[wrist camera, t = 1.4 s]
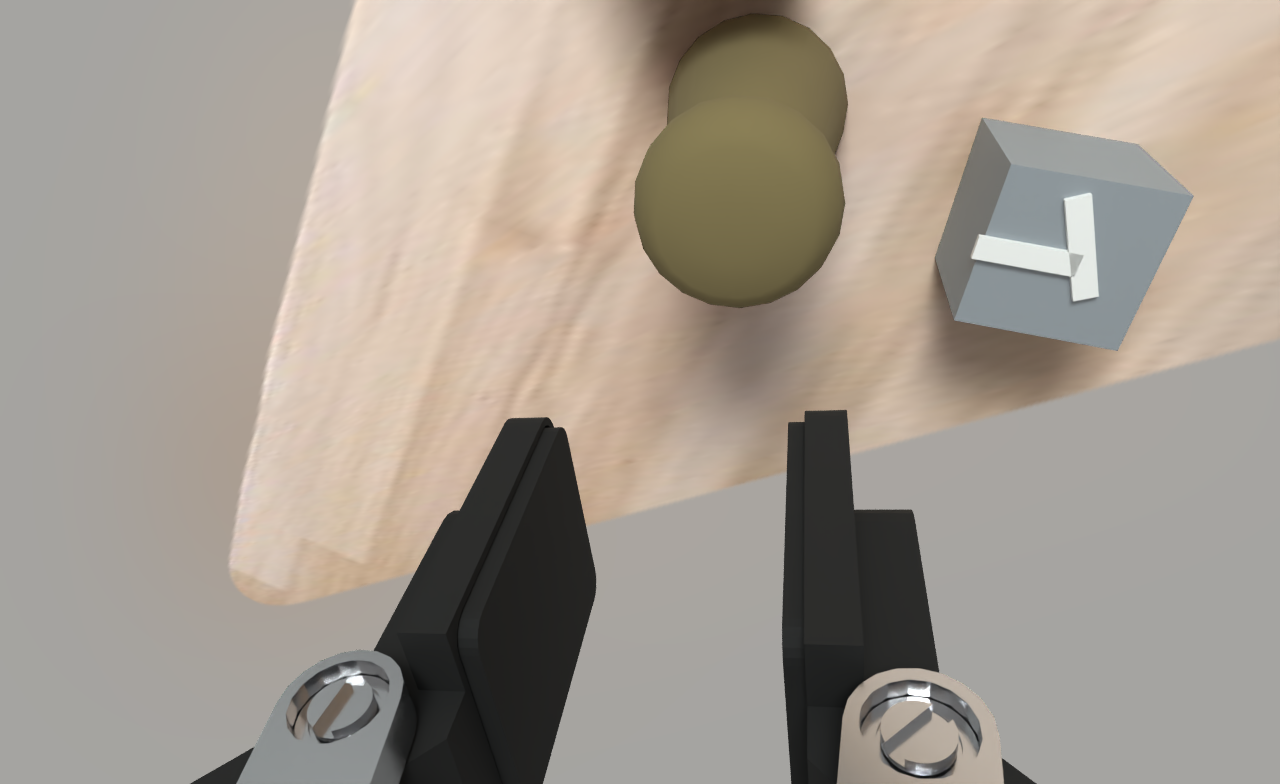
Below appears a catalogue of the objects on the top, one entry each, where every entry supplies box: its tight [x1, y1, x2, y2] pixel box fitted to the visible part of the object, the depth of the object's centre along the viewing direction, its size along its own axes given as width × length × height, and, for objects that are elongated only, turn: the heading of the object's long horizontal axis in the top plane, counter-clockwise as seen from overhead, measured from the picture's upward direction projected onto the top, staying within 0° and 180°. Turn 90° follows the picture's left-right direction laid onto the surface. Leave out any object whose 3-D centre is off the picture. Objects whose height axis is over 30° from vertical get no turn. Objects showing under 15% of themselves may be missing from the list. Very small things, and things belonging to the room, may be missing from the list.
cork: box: [634, 14, 848, 308], centre depth 25 cm, size 6×6×11 cm
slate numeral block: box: [935, 118, 1193, 351], centre depth 28 cm, size 5×5×5 cm
